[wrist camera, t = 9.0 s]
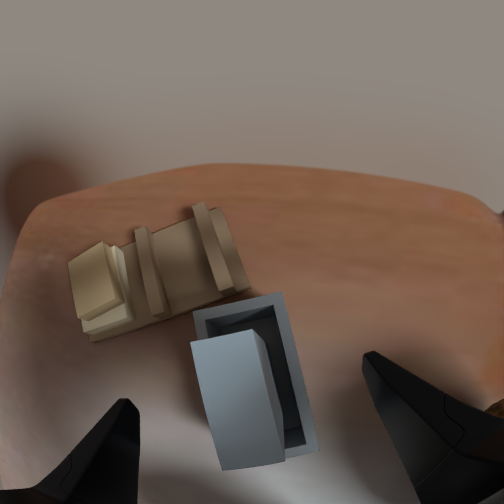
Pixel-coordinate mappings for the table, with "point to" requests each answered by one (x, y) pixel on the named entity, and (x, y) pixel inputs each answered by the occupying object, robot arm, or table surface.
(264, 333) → the holder
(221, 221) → the rack
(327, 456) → the table surface
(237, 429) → the panel
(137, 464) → the robot arm
